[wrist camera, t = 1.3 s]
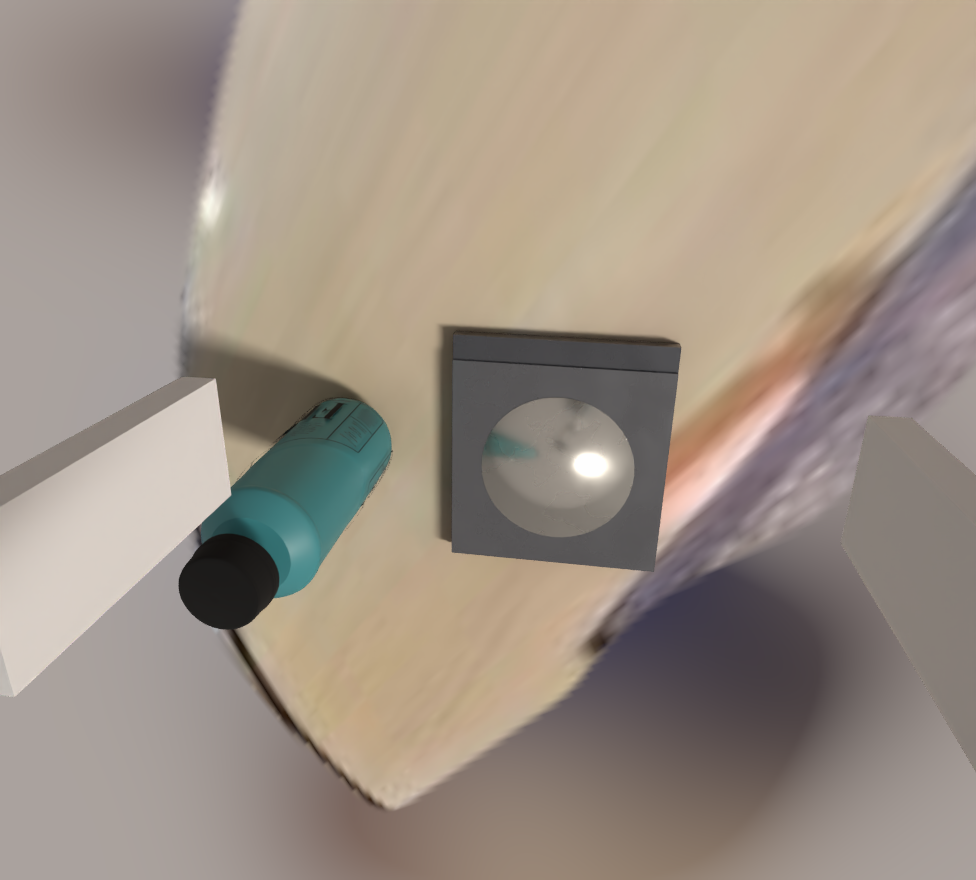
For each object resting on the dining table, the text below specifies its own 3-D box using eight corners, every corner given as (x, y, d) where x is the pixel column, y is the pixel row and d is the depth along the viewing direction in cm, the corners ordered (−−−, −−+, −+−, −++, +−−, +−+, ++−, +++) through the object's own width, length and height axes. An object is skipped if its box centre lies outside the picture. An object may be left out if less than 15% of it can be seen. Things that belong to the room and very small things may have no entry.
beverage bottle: (366, 370, 49) (222, 505, 30) (420, 451, 50) (314, 626, 32) (292, 414, 51) (115, 565, 32) (346, 491, 52) (206, 676, 34)
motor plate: (456, 331, 47) (452, 335, 46) (679, 343, 45) (681, 348, 44) (454, 543, 53) (451, 552, 52) (652, 562, 51) (653, 572, 50)
